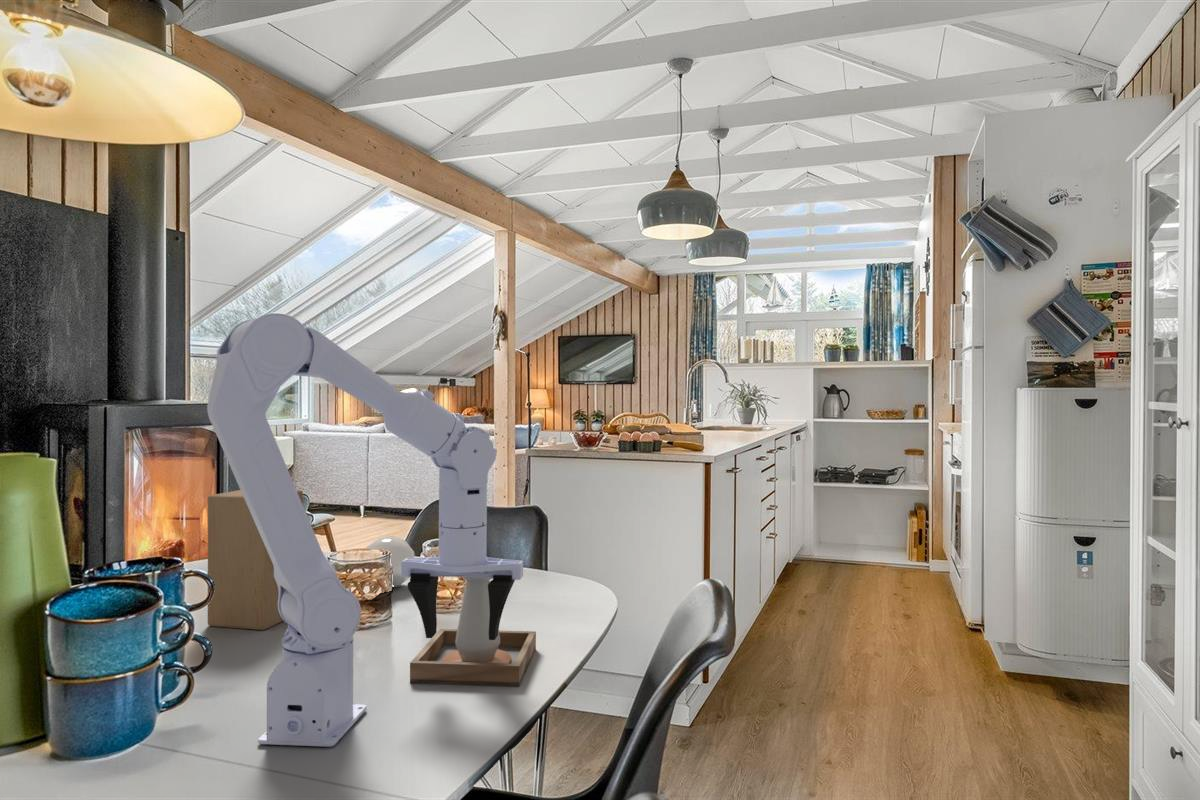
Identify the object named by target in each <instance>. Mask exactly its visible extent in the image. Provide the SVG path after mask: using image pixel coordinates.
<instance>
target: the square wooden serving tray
mask: <svg viewBox="0 0 1200 800" xmlns="http://www.w3.org/2000/svg"><path fill="white" fill-rule="evenodd" d="M457 629H458V628H457ZM457 629H452V628H439V630H438V631H436V634H435V635H434V636H433V637H432V638H430V640H429V641H428V642H427V643H426V644H425V646H424V647H422V649H421V650H420V651H419V652H418V653H417V654H416V656H415V657H414V658H413V659H412V660H411V661H410V662H409V683H410V684H423V685H424V684H430V685H434V684H435V685H460V686H462V685H463V686H487V687H488V686H492V687H517V688H518V687H520V686H521V684H522V681H523V679H524V676H525V674H526V672H527V670H528V667H529V665H530V663H531V660H532V659H533V656H534V654H535V652H536V650H537V646H536V645H537V631H534V630H533V631H531V630H530V631H528V630H527V631H526V630H525V631H524V630H499V635H500V644H499V646H498V648H497V649H499V650H502V651H505V652H507V653H508V654H510V656H511V663H510V664H509V663H476V662H443V661H442V659H443V658H444V657H445V656H446V655H448V654H450V653H452V652H455V651H458V650H457V647H456V643H455V640H456V635H457Z"/></svg>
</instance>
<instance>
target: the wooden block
mask: <svg viewBox="0 0 1200 800" xmlns="http://www.w3.org/2000/svg"><path fill="white" fill-rule="evenodd" d="M296 490H297V493H298V495H299V498H300V500H301V502H302V505H303V504H304V503H303V502H304V501H303V500H304V499H303V497H304V494H303V493H304V492H303V491H302V490H301V489H296ZM303 506H304V505H303ZM208 575H209V576H210V577H211V578H212V579H213V580H214V583H215V592H214V596H213V598H212V600H211V601H210V603H209V604H208V603H207V626H208V627H209V626H210V627H218V628H219V627H220V628H231V629H232V628H233V629H242V630H243V629H245V630H246V629H247V630H255V631H256V630H257V631H265V630H268V629H269V628H272V627H273V626H276V625H278V624H280V623H282V622H285V621H284V620H283V619H282V617H281V616H280V614H279V610H278V596H279V590H278V586H277V583H276V580H275V578H274V565H273V563H272V561H271V559H270V556H269V554H268V552H267V549H266V547H265V545H264V542H263V540H262V538H261V536H260V533H259V531H258V529H257V526H256V524H255V522H254V520H253V517H252V515H251V513H250V510H249V508H248V506H247V504H246V501H245V499H244V497H243V494H242V492H241V490H240V489H239V490H238V489H237V490H232V491H228V492H222V493H215V494H210V495H209V496H208V497H207V576H208ZM208 594H209V586H208V585H207V595H208Z"/></svg>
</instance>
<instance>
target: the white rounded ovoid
mask: <svg viewBox="0 0 1200 800" xmlns="http://www.w3.org/2000/svg"><path fill="white" fill-rule="evenodd" d="M366 549H384V550H388V551H390V553H391V554H392V555H391V564H392V567H393V585H394V588H398V587H400V586H401V585H403V584H404V583H405V582H407V581H408V580H410V579H411V577H401V562H402V561H403V560H404V559H406V558H416V557H415V551H414V549H413V548H412V547H411V546H410V545H409V543H408V542H407V541H406V540H404V539H401V538H399V537H396V536H393V535H389V536H383V537H379V538H377V539H376V540H374V541H373V542H372V543H371V544H369V545H368V546H367V547H366ZM366 549H365V550H366ZM394 588H393V589H394Z"/></svg>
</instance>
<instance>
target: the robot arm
mask: <svg viewBox="0 0 1200 800" xmlns="http://www.w3.org/2000/svg"><path fill="white" fill-rule="evenodd" d="M218 347H219V348H217V351H216V362H215V363H216V365H215V369H214V374H213V378H212V384H211V388H210V391H209V397H208V401H207V406H206V411H207V415H208V418H209V422H210V423H211V426H212V428H213V430H214V432H215V435H216V438H218V439H217V440H218V441H219V444H220V447H221V448H222V451H223V453H224V455H225V457H226V460H227V462H228V465H229V467H230V469H231V472H232V474H233V476H234V478H235V480H236V483H237V485H238V487H239V490H241V492H242V494H243V497H244V499H245V501H246V504H247V506H248V508H249V510H250V513H251V515H252V517H253V520H254V522H255V524H256V526H257V529H258V531H259V533H260V536H261V538H262V540H263V542H264V545H265V547H266V549H267V552H268V554H269V556H270V559H271V561H272V563H273V565H274V578H275V580H276V583H277V586H278V590H279V596H278V610H279V614H280V616H281V617H282V619H283V620H284V621H283V622H285V623H286V624H287V628H286V630H285V632H284V635H283V637H282V639H281V640H282V641H281V645H282V646H281V647H282V649H281V656H280V657H281V658H280V661H279V663H278V664H277V666H276V667H274V669H273V671H272V672H271V673H270V675H269V676H268V680H267V684H266V731H265V732H264V733H263V734H262V735H261V736H260V737H258V739H257V743H258V744H259V745H275V746H276V745H279V746H302V747H305V746H306V747H333V746H335V745H336V744H337V743H339V741H340V739H341V738H342V737H343V736H344V735H346V733H347V732H348V730H350V729H351V727H353V725H354V724H355V723H356V722H357V721H358V720H359V718H361V716H362V715H363V714H364V713H365V712H366V711H367V705H366V704H358V703H357V704H356V703H355V704H354V634H356V631H357V630H358V628H359V626H360V623H361V619H362V608H361V603H360V601H359V599H358V598H357V596H356V595H355V594H354V593H353V592H352V591H350V590H349V589H347V588H346V587H345V586H344V585H343V583H342V582H341V581H340V578H339V576H338V574H337V573H338V572H336V570H335V568H334V567H333V566H332V564H331V562H330V561H329V560H328V558H327V556H326V555H325V554H324V552H323V551H322V548H321V546H320V543H319V541H318V539H317V536H316V534H315V531H314V529H313V526H312V524H311V521H310V519H309V516H308V515H307V512H306V511H305V508H304V505H302V502H301V500H300V498H299V495H298V493H297V490H298V489H297V488H296V486H295V484H294V481H293V479H292V477H291V473H290V471H289V469H288V467H287V465H286V462H285V460H284V456H283V455H282V452H281V451H280V448H279V445H278V443H277V440H276V438H275V436H274V433H273V430H272V428H271V425H270V424H269V422H268V419H267V416H266V414H267V412H268V410H269V408H270V406H271V405H272V402H273V401H274V399H275V397H276V396H277V394H278V392H279V390H280V388H281V387H282V386H283V385H284V384H285V383H286V382H287V381H289V379H291V378H292V377H293V376H299V377H310V378H311V377H312V378H320V379H322V380H324V381H327V383H330V384H331V385H333V386H335V388H338V389H340V390H341V391H343V392H345V393H347V394H348V395H350V396H351V397H352V398H353V397H354V398H355V399H357V400H358V401H360V402H362V403H364V404H365V405H367V406H369V407H371V408H372V409H374V410H376V411H378V412H379V413H381V415H382V419H383V422H384V426H385V427H384V428H385V429H386V430H387V431H388V432H390V433H391V434H392V435H394V436H396V437H398V438H399V439H401V440H402V441H404V442H405V443H407V444H409V445H411V447H414V448H415V449H417V450H418V451H420V452H421V453H423V454H424V455H426V456H428V457H430V458H431V460H432V463H433V464H434V465H435V467H436V468H439V474H438V479H439V480H438V483H439V484H438V485H439V486H438V556H430V557H415V558H406V559H404V560H403V561H402V562H401V577H411V578H409V581H408V582H407V588H408V591H409V593H410V595H411V596H412V598H413V600H414V602H415V603H416V607H417V609H418V611H419V615H420V617H421V621H422V624H423V628H424V633H425V634H424V635H425V638H426V639H432V638H433V636H434V635H435V634H436V633H437V625H438V621H437V620H438V619H437V617H438V616H437V597H438V596H437V594H438V585H439V578H440V577H444V578H447V577H448V578H449V577H450V578H463V577H483V578H492V579H491V580H489V581H490V583H489V584H488V594H489V607H490V618H489V640H495V639H496V637H497V636H498V630H499V631H500V629H499V628H500V624H501V618H502V614H503V611H504V608H505V605H506V603H507V599H508V598H509V594H510V592H511V590H512V587H513V585H514V583H515V581H520V580H522V578H523V577H524V560H520V559H519V560H516V559H506V558H497V557H488V556H487V543H488V541H487V537H488V536H487V535H488V534H487V527H488V525H487V523H488V518H487V517H488V516H487V515H488V506H487V505H488V482H489V481H488V478H489V477H488V474H489V471H490V469H491V467H492V466H494V464H495V460H496V457H497V452H498V449H496V448H494V444H493V441H492V440H491V439H490V438H491V436H490V435H489V434H488V433H487V431H485V430H484V429H483V428H481V427H477V426H471V425H469V426H467V425H466V423H465V422H464V420H465V416H464V415H462V414H461V413H457V412H456V413H453V412H451V411H449V410H448V409H446V408H445V407H444V406H442V405H441V404H439V402H436V401H435V400H433V399H434V398H435V394H434V393H433V392H431V391H430V390H428V389H420V390H419V389H417V388H415V387H413V388H411V387H410V388H408V389H403V390H400V389H398V388H396V387H395V386H393V384H391V383H390V382H388V381H387V380H386V379H384V378H383V377H381V376H380V375H378V373H376V372H375V371H374V370H372V369H371V368H369V366H366V365H365V364H364V363H362V361H360V360H358V359H357V358H356V357H354V356H353V355H351V354H350V353H349V352H348V351H346V350H345V349H344V348H342V347H340V346H339V345H338V344H336V343H335V342H334V341H332V340H331V339H330V338H328V337H327V336H326V335H324V334H323V333H322V332H320V331H319V330H316V329H314V328H313V327H310V326H304V325H303V323H302V322H300V321H299V320H298V319H297V318H295V317H294V316H292V315H290V314H287V313H282V312H269V313H264V314H262V315H260V316H258V317H256V318H250V319H246V320H243V321H241V322H239V323H238V324H236V325H235V326H234V327H233V328H232V329H231V330H230V331H229V333H228V334H227V336H226V337H225V338H224V340H223V341H222V343H221V344H220V346H218Z"/></svg>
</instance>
